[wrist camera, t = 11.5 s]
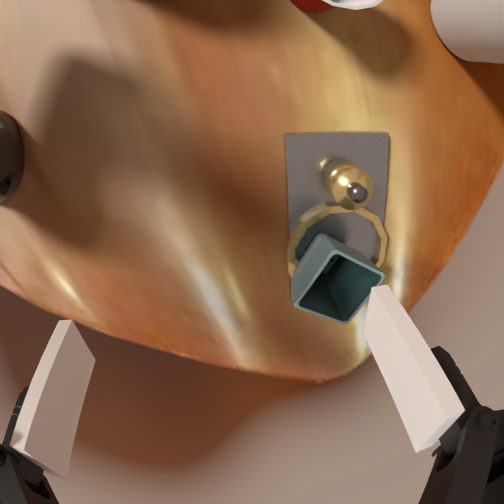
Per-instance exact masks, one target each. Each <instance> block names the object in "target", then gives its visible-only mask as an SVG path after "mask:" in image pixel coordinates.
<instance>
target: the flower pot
mask: <svg viewBox="0 0 504 504" xmlns="http://www.w3.org/2000/svg"><path fill="white" fill-rule="evenodd" d="M331 258H333V259H332V260H331V261H330V259H331ZM384 278H385V274H384V273H383V272H382V271H381V270H380V269H379V268H378V267H377V266H376V265H375V264H374V263H373V262H372V261H371V260H370V259H369V258H368V257H366V256H365V255H364V254H362V253H360V252H359V251H357V250H355V249H353V248H351V247H349V246H347V245H345V244H343V243H341V242H339V241H337V240H335V239H333V238H331V237H329V236H327V235H326V234H323V233H319V234H318V235H316V237H315V238H314V240H313V241H312V243H311V244H310V246H309V247H308V249H307V250H306V252H305V253H304V255H303V256H302V258H301V259H300V261H299V263H298V264H297V266H296V268H295V270H294V273H293V277H292V290H293V299H294V307H295V308H298V309H300V310H303V311H306V312H309V313H312V314H315V315H318V316H321V317H324V318H327V319H330V320H333V321H336V322H338V323H341V324H348V323H349V322H350V321H351V319H352V318H353V317H354V316H355V315H356V313H357V312H358V311H359V310H360V308H361V307H362V306H363V305H364V303H365V302H366V301H367V300H368V298H369V297H370V293H371V288H372V287H376V286H379V285H380V284H381V283H382V281H383V280H384Z"/></svg>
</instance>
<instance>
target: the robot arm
mask: <svg viewBox="0 0 504 504" xmlns="http://www.w3.org/2000/svg"><path fill="white" fill-rule="evenodd" d="M23 167H24V149H23V143H22V139H21V135H20V132H19V130H18V128H17V126H16V124H15V122H14V121H13V120H12V118H11V117H10V116H9V115H7V114H6V113H4V112H2V111H0V203H1V202H3V201H4V200H5V199H7V198H8V197H10V196H11V195H12V194H13V193H14V192H15V190H16V189H17V187H18V185H19V183H20V180H21V177H22V173H23ZM362 333H363V335H364V337H365V339H366V341H367V343H368V345H369V347H370V350H371V352H372V354H373V356H374V358H375V360H376V362H377V364H378V366H379V369H380V371H381V373H382V375H383V377H384V379H385V382H386V384H387V386H388V388H389V390H390V393H391V395H392V397H393V399H394V402H395V404H396V406H397V408H398V411H399V413H400V416H401V418H402V420H403V423H404V425H405V427H406V430H407V432H408V435H409V437H410V439H411V442H412V444H413V447H414V449H415V452H419V451H421V450H423V449H426V448H428V447H430V446H432V445H434V443H436V441H437V440H438V439H439V440H440V442H441V445H440V446H439V447H438V448H437V449H436V450H435V451H434V452H433V454H432V456H435V455H436V454H437V456H436V460H435V462H434V465H433V469H432V471H431V474H430V476H429V479H428V482H427V484H426V487H425V489H424V492H423V494H422V497H421V499H420V501H419V503H418V504H504V409H503V410H498V411H493V410H492V409H490V408H488V407H486V406H482V405H480V403H479V402H478V401H477V399H476V397H475V395H474V394H473V392H472V390H471V388H470V387H469V385H468V383H467V382H466V380H465V378H464V377H463V375H462V374H461V373H460V370H459V368H458V367H457V366H456V365H455V362H454V360H453V359H452V357H451V356H450V354H449V353H448V352H446V351H445V350H444V349H443V348H441V347H440V346H438V347H435V348H432V349H430V348H429V347H428V345H427V343H426V342H425V340H424V339H423V337H422V336H421V334H420V332H419V331H418V329H417V328H416V326H415V325H414V323H413V322H412V320H411V319H410V317H409V316H408V314H407V313H406V311H405V310H404V308H403V307H402V305H401V304H400V302H399V301H398V299H397V298H396V296H395V295H394V294H393V292H392V291H391V289H390V288H389V286H388V285H381V286H376V287H372V288H371V293H370V299H369V303H368V308H367V313H366V318H365V322H364V327H363V331H362ZM94 363H95V358H94V357H93V355H92V353H91V352H90V350H89V349H88V347H87V345H86V344H85V342H84V340H83V338H82V337H81V335H80V333H79V331H78V330H77V328H76V326H75V324H74V322H73V321H72V320H60V321H59V322H58V324H57V326H56V328H55V331H54V332H53V334H52V336H51V338H50V341H49V343H48V345H47V347H46V349H45V351H44V354H43V356H42V358H41V360H40V363H39V365H38V367H37V370H36V372H35V375H34V377H33V379H32V382H31V384H30V387H25V388H24V390H23V391H22V392H21V394H20V395H19V397H18V399H17V402H16V407H15V408H14V410H13V415H12V416H11V419H10V422H9V425H8V428H7V431H6V434H5V437H4V441H3V443H2V445H1V444H0V504H59V503H58V501H57V499H56V497H55V495H54V493H53V491H52V489H51V487H50V485H49V483H48V481H47V479H46V477H45V476H44V475H43V471H46V472H47V473H49V474H50V475H52V476H56V477H59V478H63V479H66V478H67V472H68V467H69V461H70V456H71V451H72V447H73V441H74V437H75V432H76V429H77V425H78V420H79V416H80V412H81V408H82V404H83V401H84V397H85V394H86V390H87V387H88V383H89V379H90V376H91V373H92V370H93V367H94Z"/></svg>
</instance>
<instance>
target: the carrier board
mask: <svg viewBox="0 0 504 504" xmlns="http://www.w3.org/2000/svg"><path fill="white" fill-rule="evenodd" d="M283 136H284V152H285V169H286V188H287V210H288V236H289V242H288V243H287V269H288V273H289V274H290V298H291V301H294V299H293V290H292V277H293V273H294V270H295V268H296V266H297V264H298V263H299V261H300V259H301V258H302V256H303V255H304V253H305V252H306V250H307V249H308V247H309V246H310V244H311V243H312V241H313V240H314V238H315V237H316V235H318V234H319V233H323V234H326V235H327V236H329V237H331V238H333V239H335V240H337V241H339V242H341V243H343V244H345V245H347V246H349V247H351V248H353V249H355V250H357V251H359V252H360V253H362V254H364V255H365V256H366V257H368V258H369V259H370V260H371V261H372V262H373V263H374V264H375V265H376V266H377V267H378V268H380V266H381V265H382V263H383V262H384V259H385V252H386V245H387V235H386V233H385V231H384V228H383V220H384V210H385V199H386V186H387V170H388V146H389V133H386V132H366V131H338V132H304V133H285V134H283ZM332 259H333V258H331V259H330V261H331V260H332Z"/></svg>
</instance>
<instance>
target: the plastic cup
mask: <svg viewBox="0 0 504 504" xmlns="http://www.w3.org/2000/svg"><path fill="white" fill-rule="evenodd" d="M381 1H383V0H291V2H292V3H293V4H295V5H296V6H297V7H299V8H301V9H304V10H306V11H316V12H317V11H321V10H326V9H330V8H335V7H342V8H348V9H353V10H358V9H364V8H370V7H375V6H376V5H377V4H379V3H380V2H381Z"/></svg>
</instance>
